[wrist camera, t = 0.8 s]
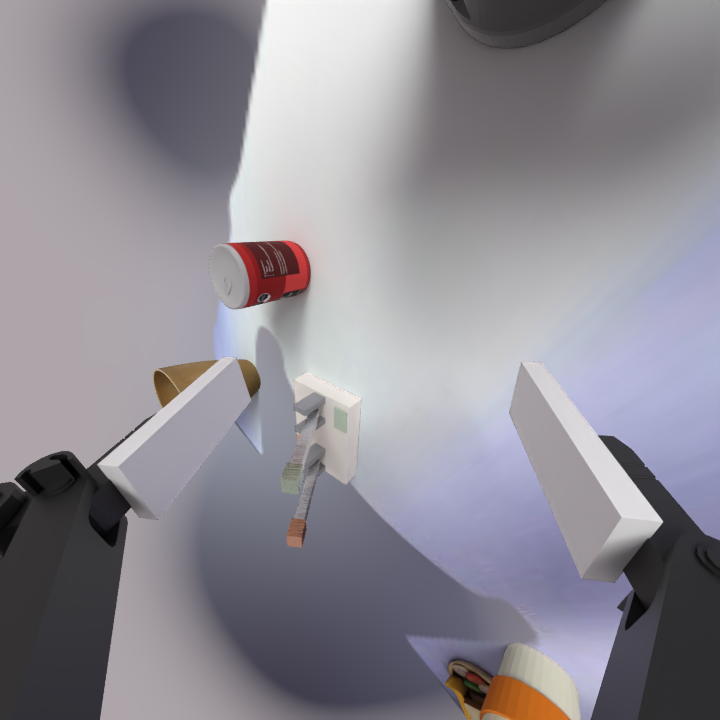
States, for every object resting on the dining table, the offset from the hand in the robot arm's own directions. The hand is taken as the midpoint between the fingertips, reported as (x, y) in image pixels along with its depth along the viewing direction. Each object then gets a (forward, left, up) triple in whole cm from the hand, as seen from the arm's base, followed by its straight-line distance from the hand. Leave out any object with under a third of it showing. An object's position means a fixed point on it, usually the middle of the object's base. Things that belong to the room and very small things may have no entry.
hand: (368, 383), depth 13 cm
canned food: (+1, -28, -21) cm, 35 cm away
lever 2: (+33, -20, -16) cm, 41 cm away
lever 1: (+22, -20, -16) cm, 34 cm away
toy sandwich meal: (+69, +18, -21) cm, 74 cm away
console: (+27, -20, -20) cm, 39 cm away
